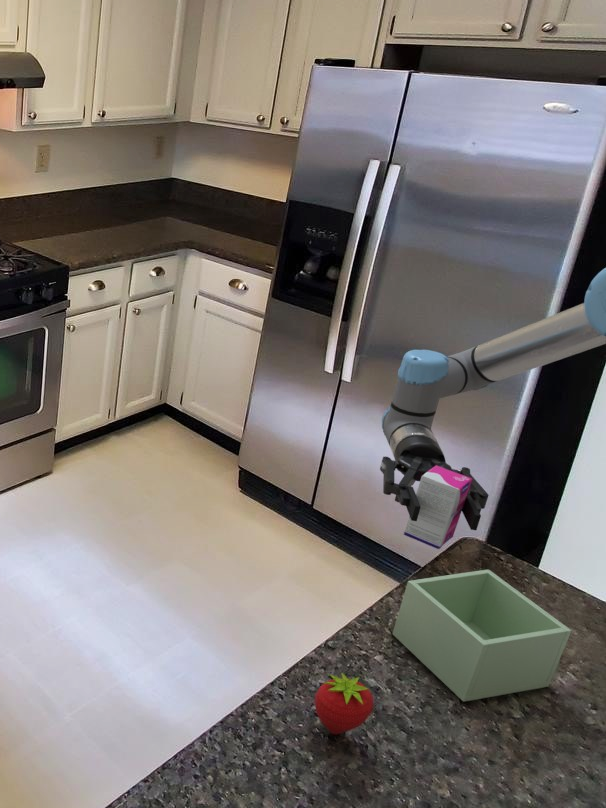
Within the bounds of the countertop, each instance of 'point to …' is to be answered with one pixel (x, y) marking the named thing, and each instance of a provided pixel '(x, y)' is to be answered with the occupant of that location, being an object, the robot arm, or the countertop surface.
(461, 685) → the trash bin
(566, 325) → the robot arm
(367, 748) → the countertop surface
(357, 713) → the strawberry
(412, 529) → the supplement box
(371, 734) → the countertop surface
